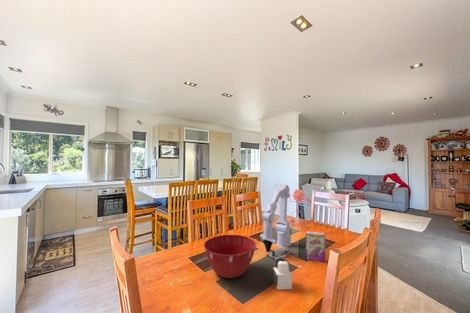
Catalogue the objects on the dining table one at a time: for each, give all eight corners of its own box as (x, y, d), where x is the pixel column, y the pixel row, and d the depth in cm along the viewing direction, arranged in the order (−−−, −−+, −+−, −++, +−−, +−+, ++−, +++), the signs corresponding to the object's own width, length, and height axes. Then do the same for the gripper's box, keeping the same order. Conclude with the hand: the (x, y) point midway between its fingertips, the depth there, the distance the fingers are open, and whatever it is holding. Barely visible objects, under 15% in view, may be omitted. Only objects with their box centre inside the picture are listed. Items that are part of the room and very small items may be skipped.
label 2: (278, 252, 139) (278, 251, 139) (286, 256, 133) (286, 255, 133) (274, 253, 137) (274, 252, 137) (281, 257, 131) (281, 256, 131)
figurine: (309, 229, 189) (309, 190, 191) (283, 224, 205) (283, 188, 207) (315, 226, 201) (314, 189, 203) (289, 221, 217) (289, 187, 219)
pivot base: (285, 251, 141) (285, 249, 141) (291, 254, 136) (291, 252, 136) (278, 253, 138) (278, 251, 138) (285, 256, 133) (285, 254, 133)
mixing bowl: (238, 294, 94) (238, 259, 94) (192, 275, 109) (192, 246, 110) (264, 268, 118) (264, 240, 118) (223, 256, 133) (223, 231, 133)
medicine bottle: (273, 281, 104) (273, 257, 105) (287, 281, 105) (286, 256, 105) (277, 290, 97) (277, 264, 97) (292, 289, 98) (292, 263, 98)
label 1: (273, 253, 136) (273, 252, 136) (280, 257, 130) (280, 256, 130) (268, 254, 134) (268, 254, 134) (276, 259, 128) (276, 258, 128)
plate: (278, 251, 140) (278, 251, 140) (287, 257, 132) (287, 256, 132) (265, 255, 134) (265, 254, 134) (275, 260, 127) (275, 260, 127)
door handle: (285, 249, 139) (285, 245, 139) (289, 251, 136) (289, 247, 136) (269, 254, 132) (269, 249, 132) (272, 256, 129) (272, 251, 129)
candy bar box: (305, 260, 128) (305, 233, 128) (305, 256, 132) (305, 230, 133) (325, 263, 124) (325, 235, 125) (324, 259, 129) (324, 232, 129)
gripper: (256, 228, 141) (256, 248, 141) (270, 234, 129) (270, 257, 128) (264, 227, 145) (264, 246, 144) (279, 233, 132) (279, 254, 132)
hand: (268, 251), depth 136 cm, fingers closed
